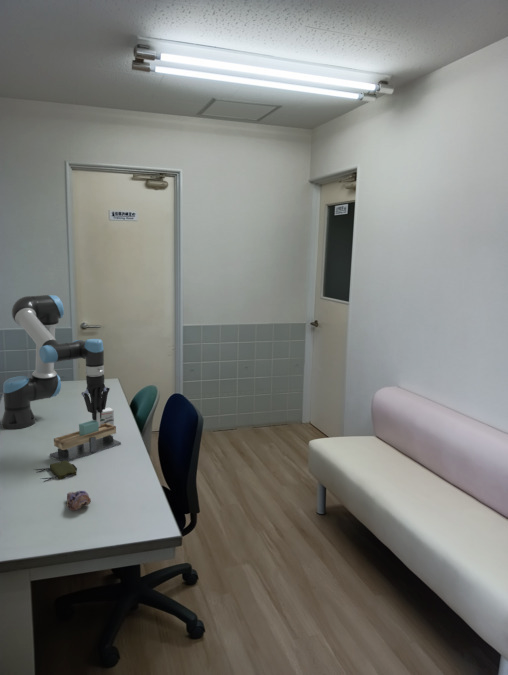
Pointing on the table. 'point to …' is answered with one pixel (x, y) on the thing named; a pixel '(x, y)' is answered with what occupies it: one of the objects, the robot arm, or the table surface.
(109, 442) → the stand
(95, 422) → the teal rectangular block
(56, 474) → the electronic device
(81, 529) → the table surface
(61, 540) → the table surface
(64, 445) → the beam
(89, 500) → the purple brown lumpy chunk
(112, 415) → the ink box
